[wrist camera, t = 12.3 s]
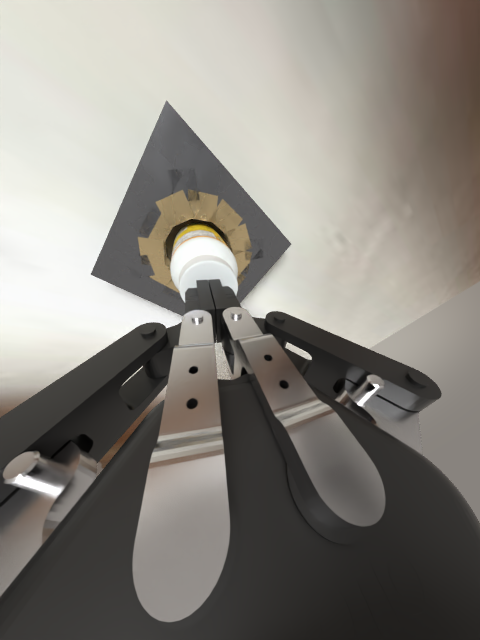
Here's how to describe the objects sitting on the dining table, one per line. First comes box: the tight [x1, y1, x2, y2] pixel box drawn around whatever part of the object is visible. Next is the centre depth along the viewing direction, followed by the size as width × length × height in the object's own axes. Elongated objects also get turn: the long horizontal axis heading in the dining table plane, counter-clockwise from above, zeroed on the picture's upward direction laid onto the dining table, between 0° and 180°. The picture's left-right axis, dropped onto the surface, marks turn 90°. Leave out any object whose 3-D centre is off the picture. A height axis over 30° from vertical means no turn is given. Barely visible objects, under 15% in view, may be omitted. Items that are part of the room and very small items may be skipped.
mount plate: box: [91, 101, 291, 316], centre depth 18 cm, size 14×14×2 cm
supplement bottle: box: [170, 223, 238, 302], centre depth 15 cm, size 5×5×10 cm
